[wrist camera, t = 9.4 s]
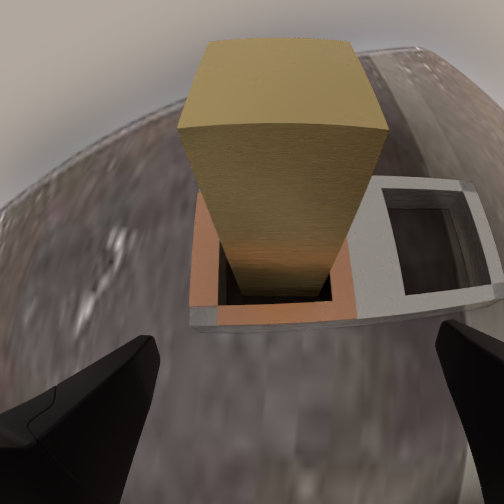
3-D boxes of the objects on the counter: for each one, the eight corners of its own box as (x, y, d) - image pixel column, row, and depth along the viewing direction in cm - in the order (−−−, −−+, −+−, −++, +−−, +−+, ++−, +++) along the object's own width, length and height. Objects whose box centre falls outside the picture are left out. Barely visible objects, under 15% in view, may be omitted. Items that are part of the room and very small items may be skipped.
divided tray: (458, 198, 19) (473, 179, 17) (487, 306, 15) (509, 295, 13) (207, 203, 20) (199, 179, 18) (201, 332, 17) (188, 324, 14)
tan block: (314, 229, 19) (349, 41, 7) (317, 296, 17) (389, 129, 5) (246, 229, 19) (208, 41, 7) (242, 295, 18) (177, 128, 6)
